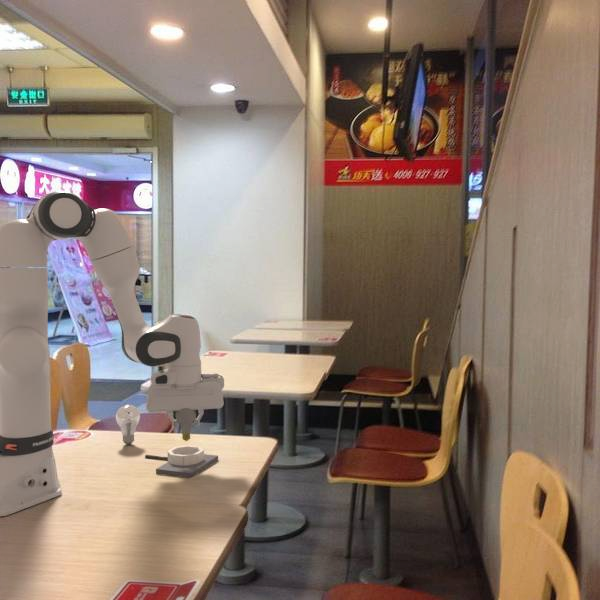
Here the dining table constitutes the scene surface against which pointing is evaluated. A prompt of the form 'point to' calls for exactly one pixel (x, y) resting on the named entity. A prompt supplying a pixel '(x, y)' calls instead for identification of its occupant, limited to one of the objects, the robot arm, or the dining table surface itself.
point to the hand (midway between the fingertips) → (185, 426)
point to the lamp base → (184, 461)
